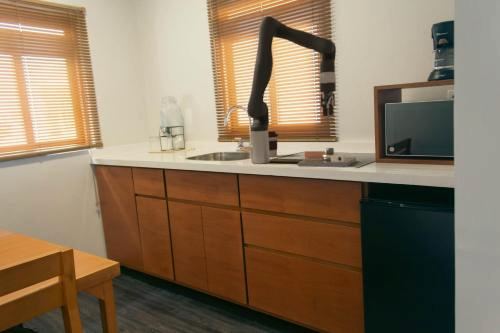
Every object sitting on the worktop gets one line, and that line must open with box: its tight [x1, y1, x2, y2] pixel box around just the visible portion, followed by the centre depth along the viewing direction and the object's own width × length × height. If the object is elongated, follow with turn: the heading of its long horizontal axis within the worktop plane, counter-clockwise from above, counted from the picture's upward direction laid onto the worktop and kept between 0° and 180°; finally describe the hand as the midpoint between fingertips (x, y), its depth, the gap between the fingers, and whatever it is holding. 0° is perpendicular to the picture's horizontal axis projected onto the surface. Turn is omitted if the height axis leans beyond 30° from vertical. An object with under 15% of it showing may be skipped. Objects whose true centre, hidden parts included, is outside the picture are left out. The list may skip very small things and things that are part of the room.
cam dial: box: [304, 147, 340, 160], centre depth 197 cm, size 17×8×5 cm, turn 61°
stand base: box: [297, 154, 357, 168], centre depth 194 cm, size 24×17×5 cm
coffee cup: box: [268, 130, 279, 158], centre depth 238 cm, size 10×10×15 cm
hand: (328, 115), depth 196 cm, fingers open, 8 cm apart
